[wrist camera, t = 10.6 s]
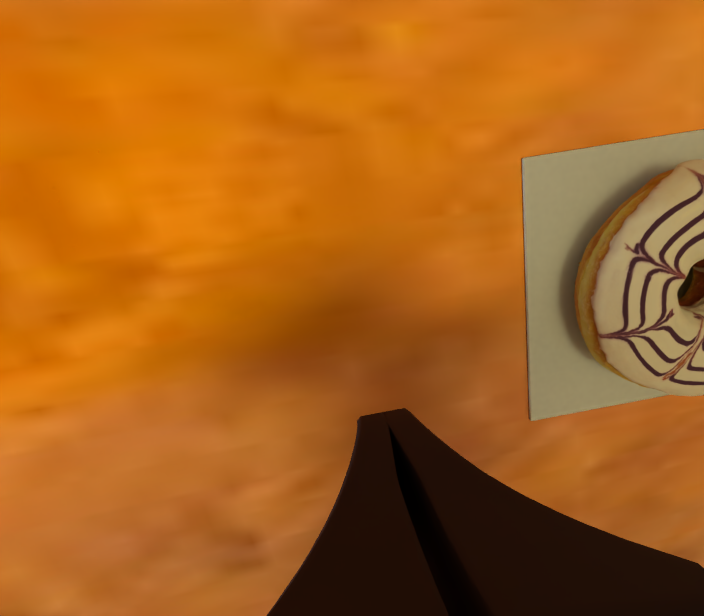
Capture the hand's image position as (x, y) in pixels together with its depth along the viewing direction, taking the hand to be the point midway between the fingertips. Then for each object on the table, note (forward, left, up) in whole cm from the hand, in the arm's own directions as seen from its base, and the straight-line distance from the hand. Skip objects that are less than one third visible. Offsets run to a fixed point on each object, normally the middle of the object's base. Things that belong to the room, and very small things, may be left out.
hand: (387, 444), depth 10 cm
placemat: (0, -16, -9) cm, 19 cm away
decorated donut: (0, -16, -9) cm, 18 cm away
